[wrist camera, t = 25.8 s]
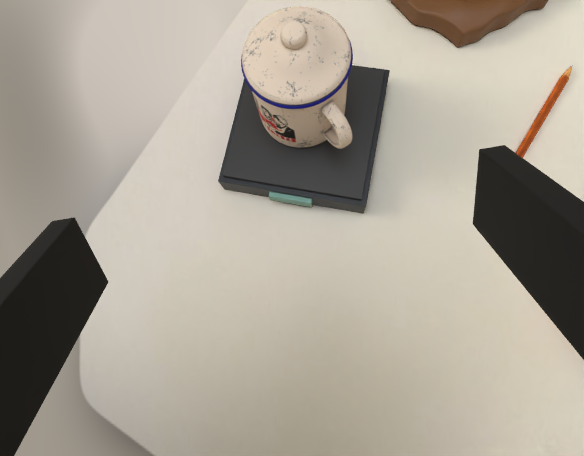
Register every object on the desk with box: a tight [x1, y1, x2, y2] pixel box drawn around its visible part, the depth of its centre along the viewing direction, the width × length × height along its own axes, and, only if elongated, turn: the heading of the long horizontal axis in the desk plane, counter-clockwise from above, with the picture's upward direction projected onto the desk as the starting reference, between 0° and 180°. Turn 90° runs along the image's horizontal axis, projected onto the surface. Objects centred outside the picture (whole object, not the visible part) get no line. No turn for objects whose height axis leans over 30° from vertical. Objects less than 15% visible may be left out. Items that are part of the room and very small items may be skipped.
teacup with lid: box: [241, 7, 353, 149], centre depth 35 cm, size 12×9×12 cm
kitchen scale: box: [218, 65, 389, 213], centre depth 42 cm, size 15×16×3 cm
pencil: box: [516, 66, 572, 158], centre depth 41 cm, size 1×18×1 cm, turn 147°
